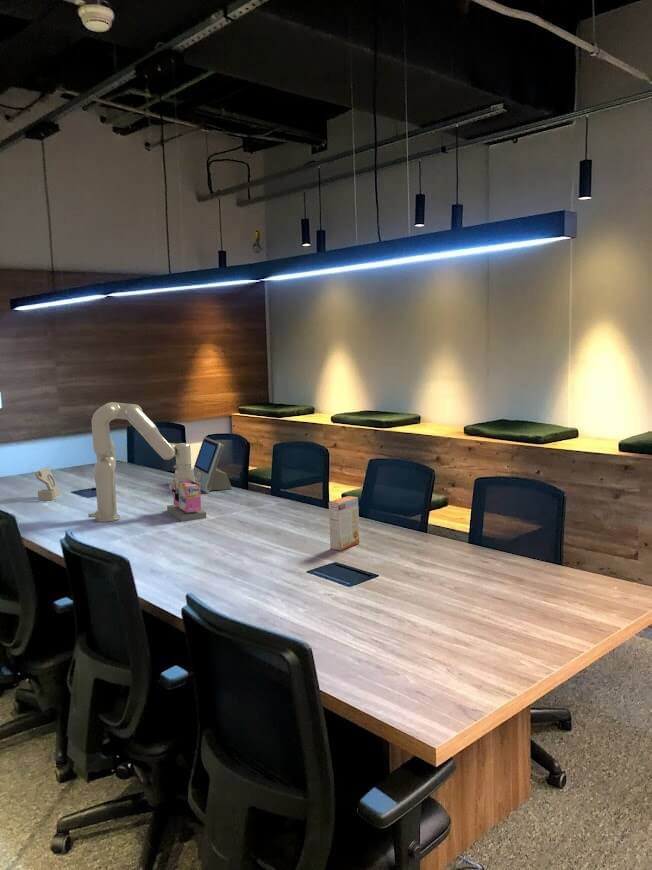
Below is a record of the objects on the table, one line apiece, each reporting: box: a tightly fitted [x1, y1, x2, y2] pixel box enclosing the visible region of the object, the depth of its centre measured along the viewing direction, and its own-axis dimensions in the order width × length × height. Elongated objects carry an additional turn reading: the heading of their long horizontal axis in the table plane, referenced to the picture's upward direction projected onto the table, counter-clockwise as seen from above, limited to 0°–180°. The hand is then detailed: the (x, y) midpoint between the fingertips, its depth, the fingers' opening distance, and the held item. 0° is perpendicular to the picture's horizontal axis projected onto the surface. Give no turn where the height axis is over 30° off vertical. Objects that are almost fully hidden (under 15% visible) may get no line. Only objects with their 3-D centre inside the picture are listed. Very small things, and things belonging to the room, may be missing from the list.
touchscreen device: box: [192, 437, 233, 494], centre depth 443 cm, size 35×20×30 cm, turn 25°
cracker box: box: [328, 495, 360, 552], centre depth 309 cm, size 14×6×21 cm, turn 141°
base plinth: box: [166, 503, 207, 522], centre depth 375 cm, size 13×27×3 cm, turn 28°
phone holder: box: [34, 467, 62, 501], centre depth 422 cm, size 17×10×18 cm, turn 178°
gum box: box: [172, 478, 202, 512], centre depth 372 cm, size 24×8×14 cm, turn 29°
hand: (185, 499), depth 375 cm, fingers closed on gum box, 8 cm apart
